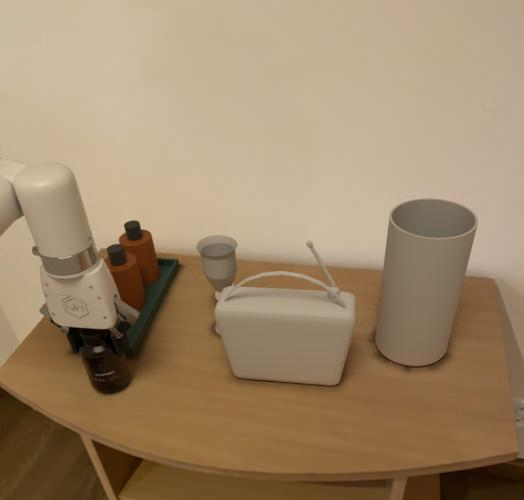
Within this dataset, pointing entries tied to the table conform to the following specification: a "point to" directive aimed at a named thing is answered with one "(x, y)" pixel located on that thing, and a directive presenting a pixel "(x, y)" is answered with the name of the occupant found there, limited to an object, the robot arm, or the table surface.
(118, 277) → the amber bottle middle
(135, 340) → the tray
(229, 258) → the chalice
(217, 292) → the lidless jar
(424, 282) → the cylinder vase
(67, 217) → the robot arm
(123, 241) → the amber bottle far
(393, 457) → the table surface
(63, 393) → the table surface
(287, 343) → the radio
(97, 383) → the supplement bottle
